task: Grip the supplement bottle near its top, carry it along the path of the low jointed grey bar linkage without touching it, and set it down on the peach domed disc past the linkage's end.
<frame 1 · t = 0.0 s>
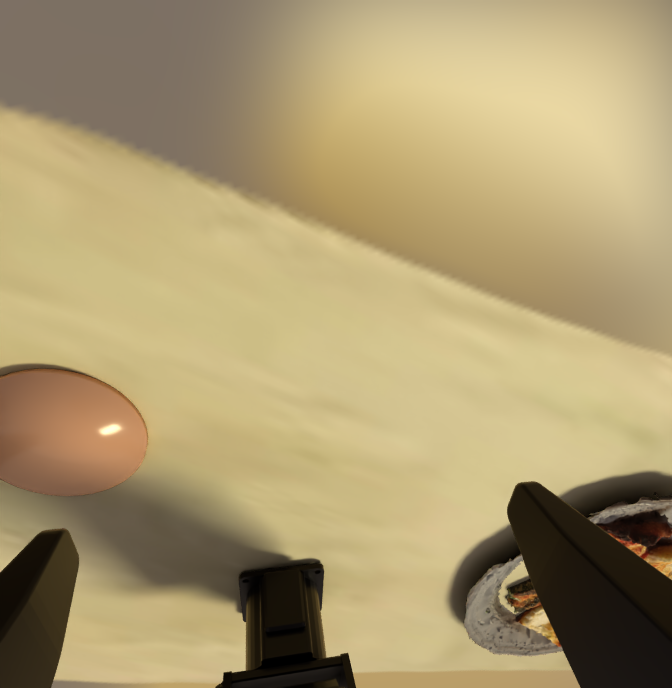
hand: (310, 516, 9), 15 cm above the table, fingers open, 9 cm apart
peach domed disc: (61, 435, 25), on the table
food plate: (580, 565, 43), on the table
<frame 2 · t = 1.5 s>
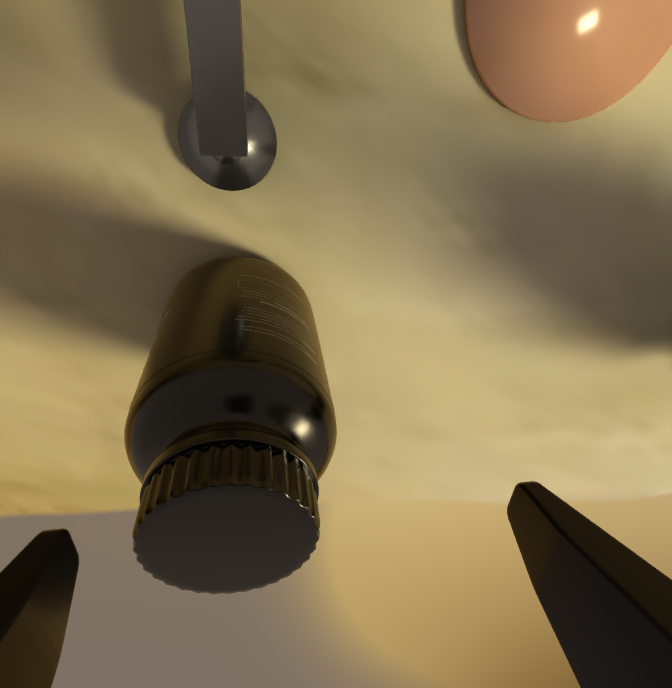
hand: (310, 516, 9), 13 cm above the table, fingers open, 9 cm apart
supplement bottle: (242, 318, 22), on the table
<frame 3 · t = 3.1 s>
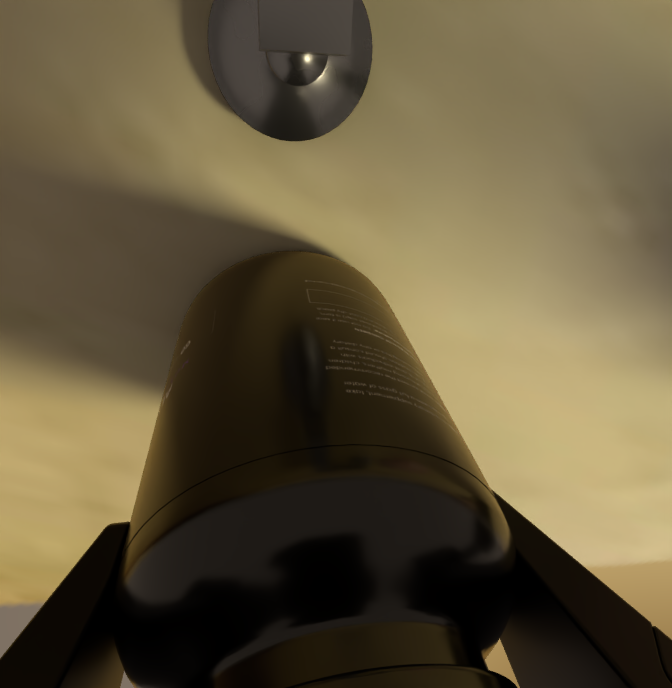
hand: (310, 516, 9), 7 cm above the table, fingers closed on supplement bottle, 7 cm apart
supplement bottle: (289, 342, 15), on the table, touching gripper
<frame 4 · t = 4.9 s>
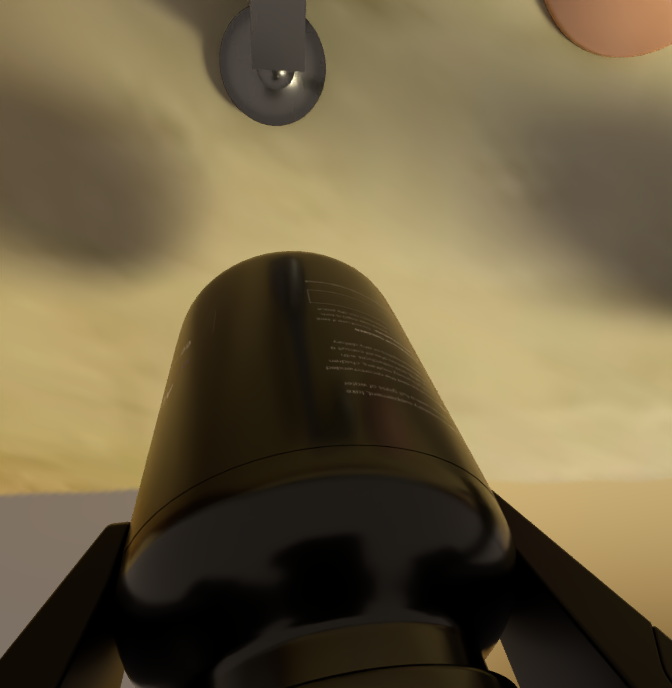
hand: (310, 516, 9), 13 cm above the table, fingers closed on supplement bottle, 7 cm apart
supplement bottle: (290, 342, 15), point 6 cm above the table, touching gripper
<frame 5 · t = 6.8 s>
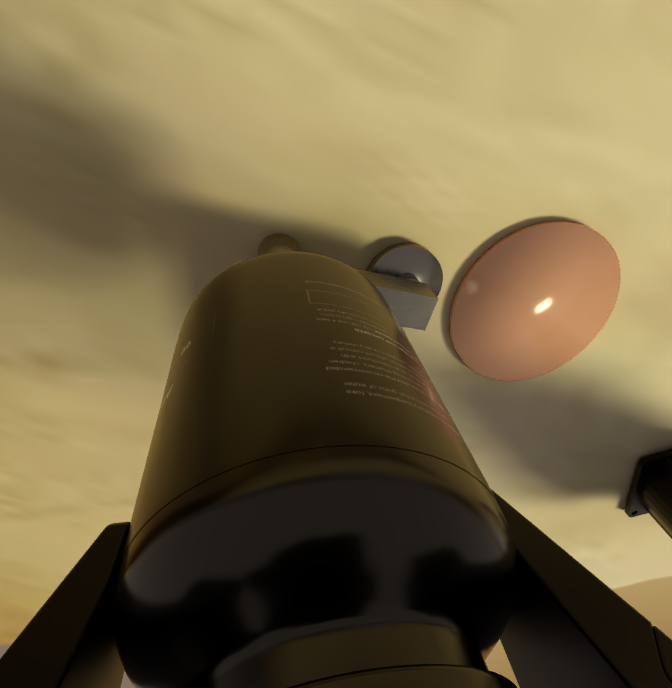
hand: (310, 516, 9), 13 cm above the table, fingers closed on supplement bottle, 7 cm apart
supplement bottle: (289, 342, 15), point 6 cm above the table, touching gripper
peach domed disc: (532, 306, 23), on the table
jointed grey bar linkage: (279, 253, 19), on the table
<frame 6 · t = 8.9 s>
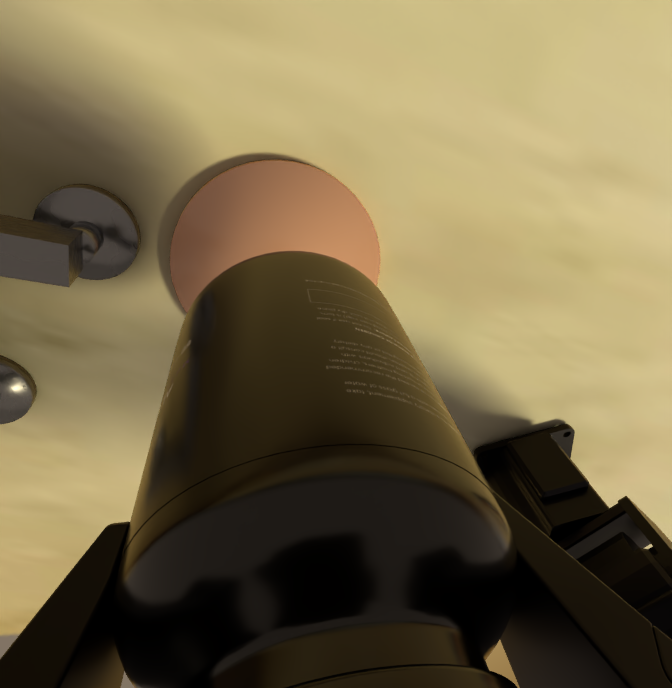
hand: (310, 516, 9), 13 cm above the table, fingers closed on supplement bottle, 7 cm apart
supplement bottle: (290, 342, 15), point 6 cm above the table, touching gripper
peach domed disc: (278, 268, 20), on the table
when the fingers open (8 cm above the table, at t = 10.5 s): supplement bottle drops 1 cm, resting on peach domed disc.
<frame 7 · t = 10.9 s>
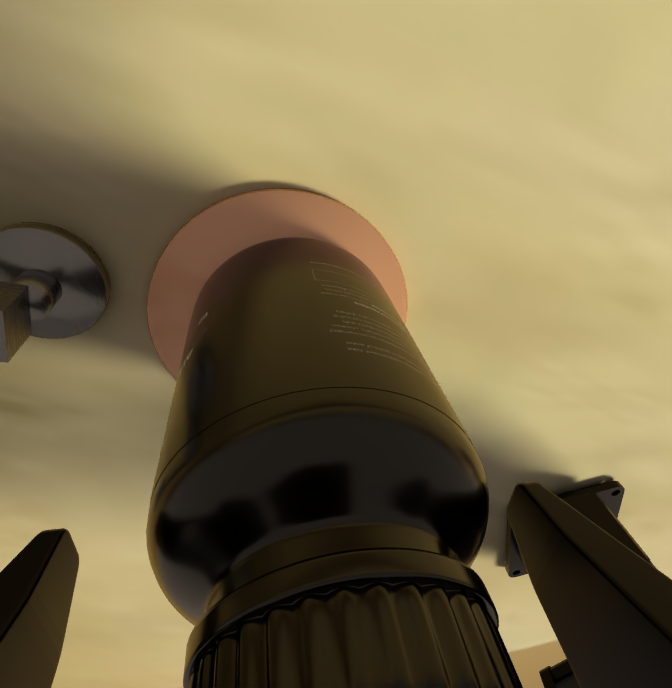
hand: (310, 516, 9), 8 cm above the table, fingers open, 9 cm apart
supplement bottle: (292, 323, 16), resting on peach domed disc
peach domed disc: (283, 317, 16), on the table
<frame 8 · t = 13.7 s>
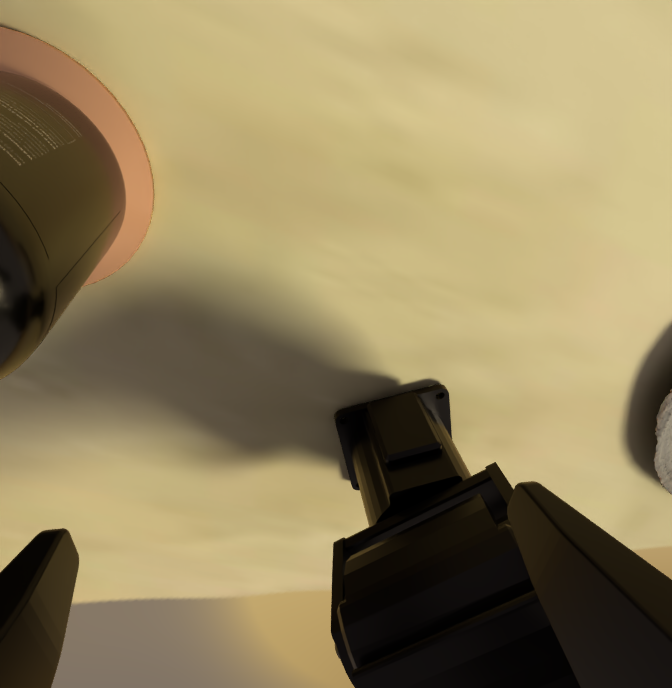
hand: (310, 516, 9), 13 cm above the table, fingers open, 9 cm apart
supplement bottle: (32, 178, 16), resting on peach domed disc
peach domed disc: (23, 173, 16), on the table
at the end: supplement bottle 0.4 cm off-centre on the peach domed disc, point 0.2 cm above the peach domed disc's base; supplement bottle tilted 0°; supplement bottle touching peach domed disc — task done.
